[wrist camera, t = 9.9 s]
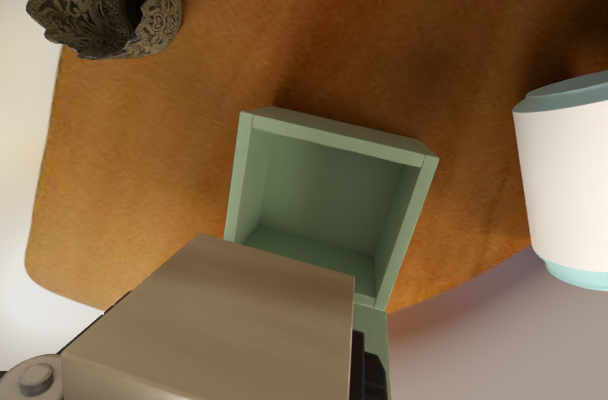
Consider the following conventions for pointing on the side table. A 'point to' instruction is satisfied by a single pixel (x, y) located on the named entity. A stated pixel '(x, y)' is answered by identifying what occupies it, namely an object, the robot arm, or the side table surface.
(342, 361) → the block
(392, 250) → the chest
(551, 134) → the can
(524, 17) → the side table surface
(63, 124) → the side table surface
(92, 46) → the cup
